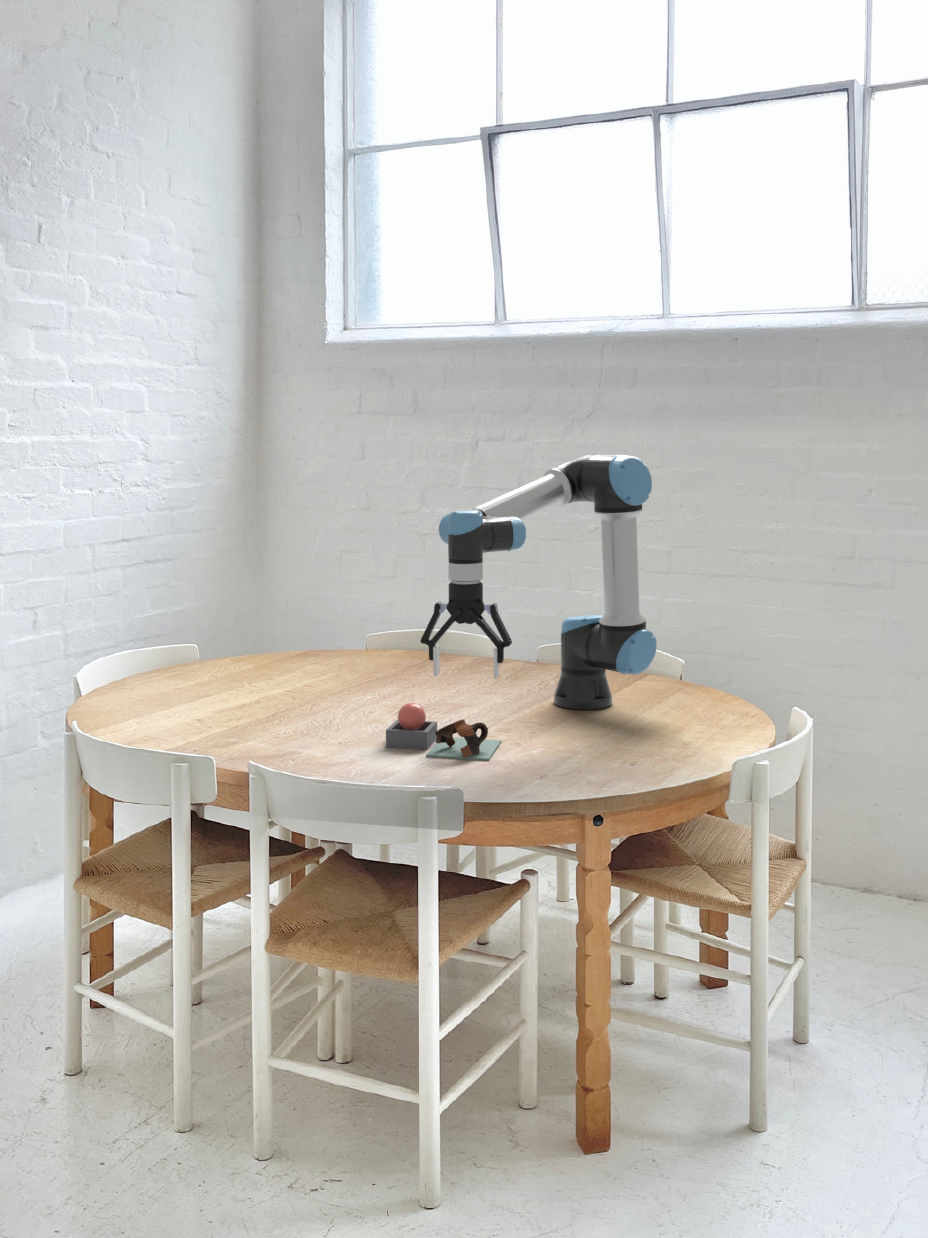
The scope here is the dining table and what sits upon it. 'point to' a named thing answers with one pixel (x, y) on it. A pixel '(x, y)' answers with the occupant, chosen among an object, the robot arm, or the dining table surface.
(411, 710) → the pinkish red ball
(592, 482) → the robot arm
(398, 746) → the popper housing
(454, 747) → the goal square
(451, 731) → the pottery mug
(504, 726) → the dining table surface
